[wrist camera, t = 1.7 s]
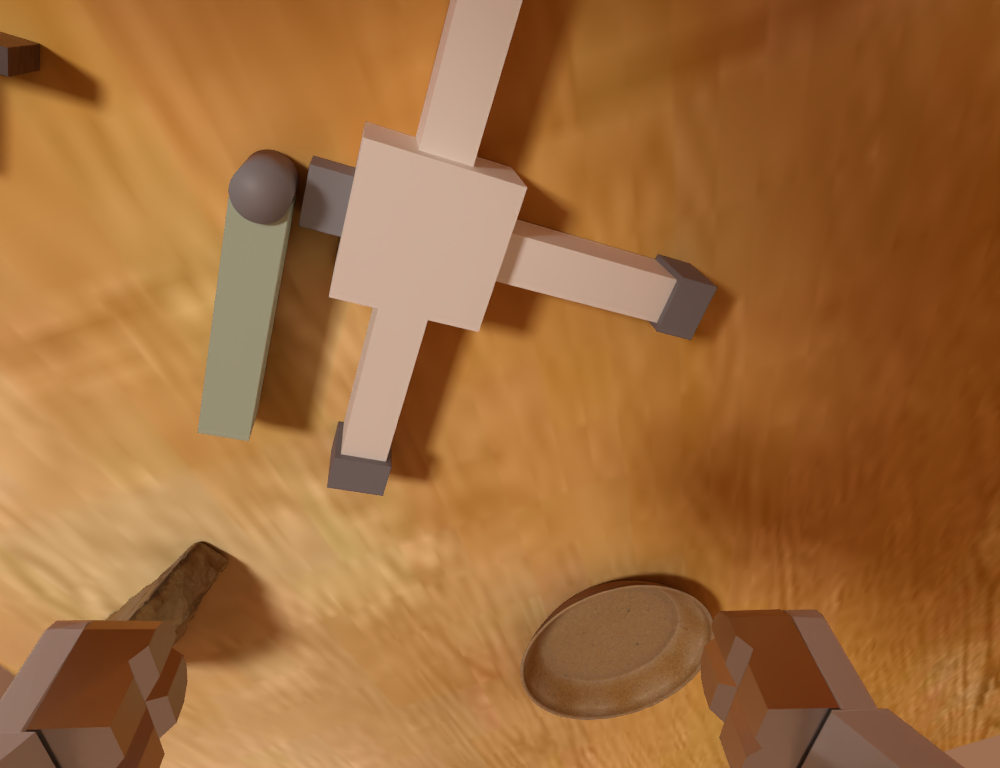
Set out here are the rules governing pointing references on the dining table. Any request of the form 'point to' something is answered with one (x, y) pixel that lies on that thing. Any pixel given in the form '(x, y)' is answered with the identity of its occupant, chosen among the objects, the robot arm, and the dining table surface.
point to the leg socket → (18, 55)
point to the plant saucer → (616, 650)
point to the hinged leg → (247, 292)
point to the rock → (176, 590)
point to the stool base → (456, 240)
